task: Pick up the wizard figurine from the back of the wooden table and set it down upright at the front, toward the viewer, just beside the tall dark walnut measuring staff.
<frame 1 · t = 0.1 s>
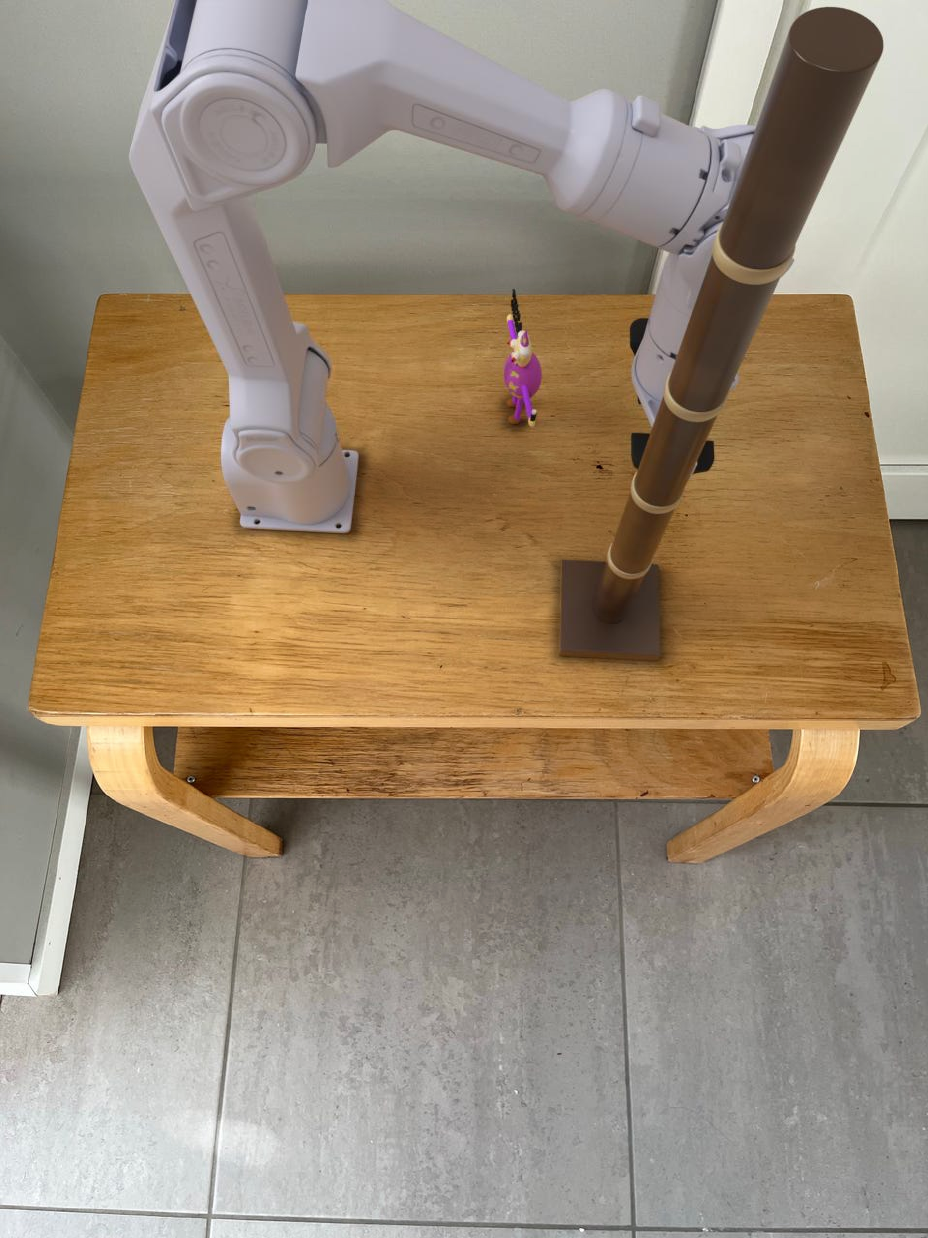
hand: (652, 443, 70), 10 cm above the table, tool pointing down, fingers open, 7 cm apart
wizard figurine: (518, 414, 83), on the table
measuring staff: (671, 453, 52), on the table
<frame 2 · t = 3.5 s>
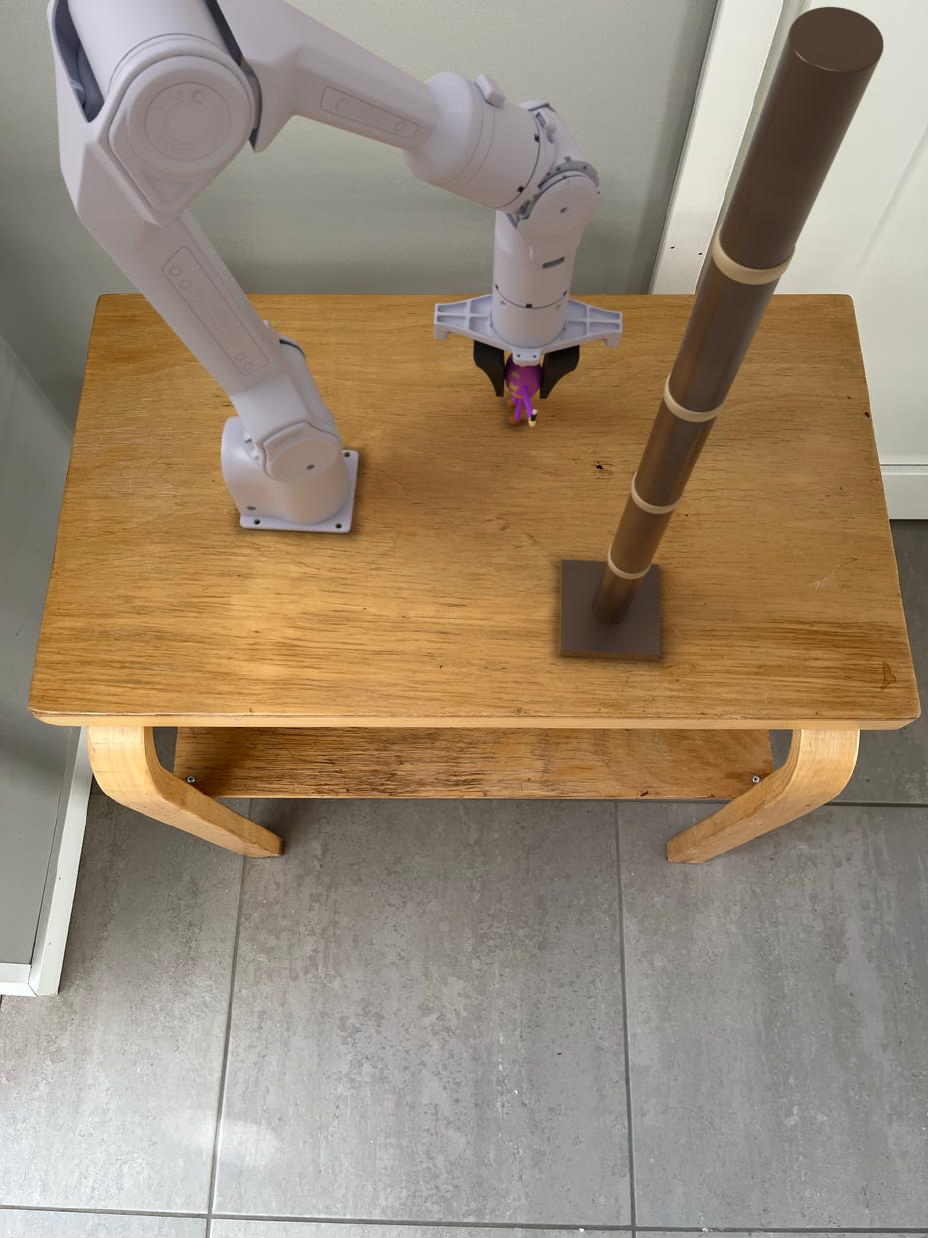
hand: (521, 388, 79), 4 cm above the table, tool pointing down, fingers closed on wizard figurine, 3 cm apart
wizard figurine: (519, 414, 83), on the table, touching gripper
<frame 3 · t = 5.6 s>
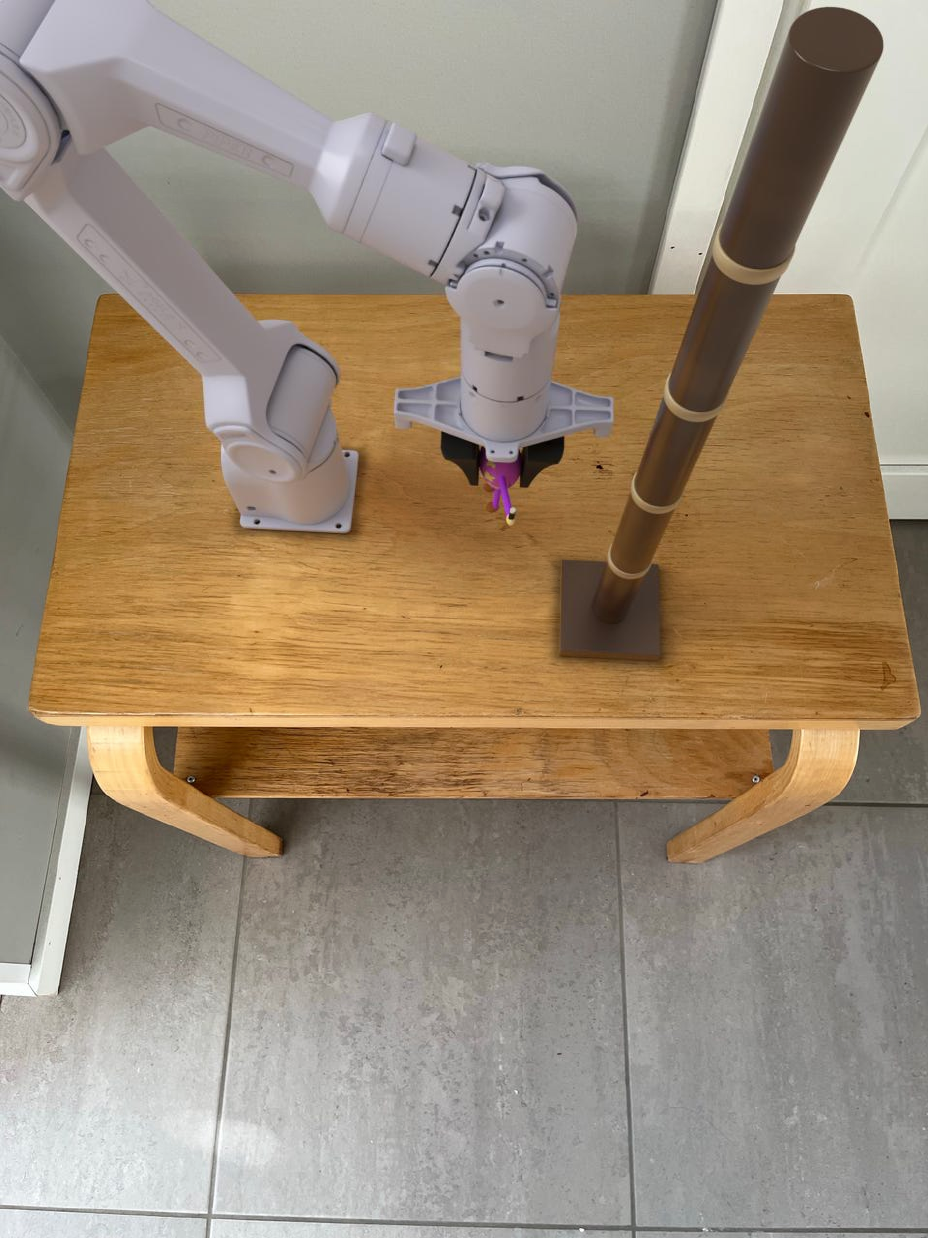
hand: (499, 475, 69), 10 cm above the table, tool pointing down, fingers closed on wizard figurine, 3 cm apart
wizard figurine: (497, 500, 73), point 6 cm above the table, touching gripper
when the fingers open (4 cm above the table, at t = 8.1 s): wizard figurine stays where it is, on the table.
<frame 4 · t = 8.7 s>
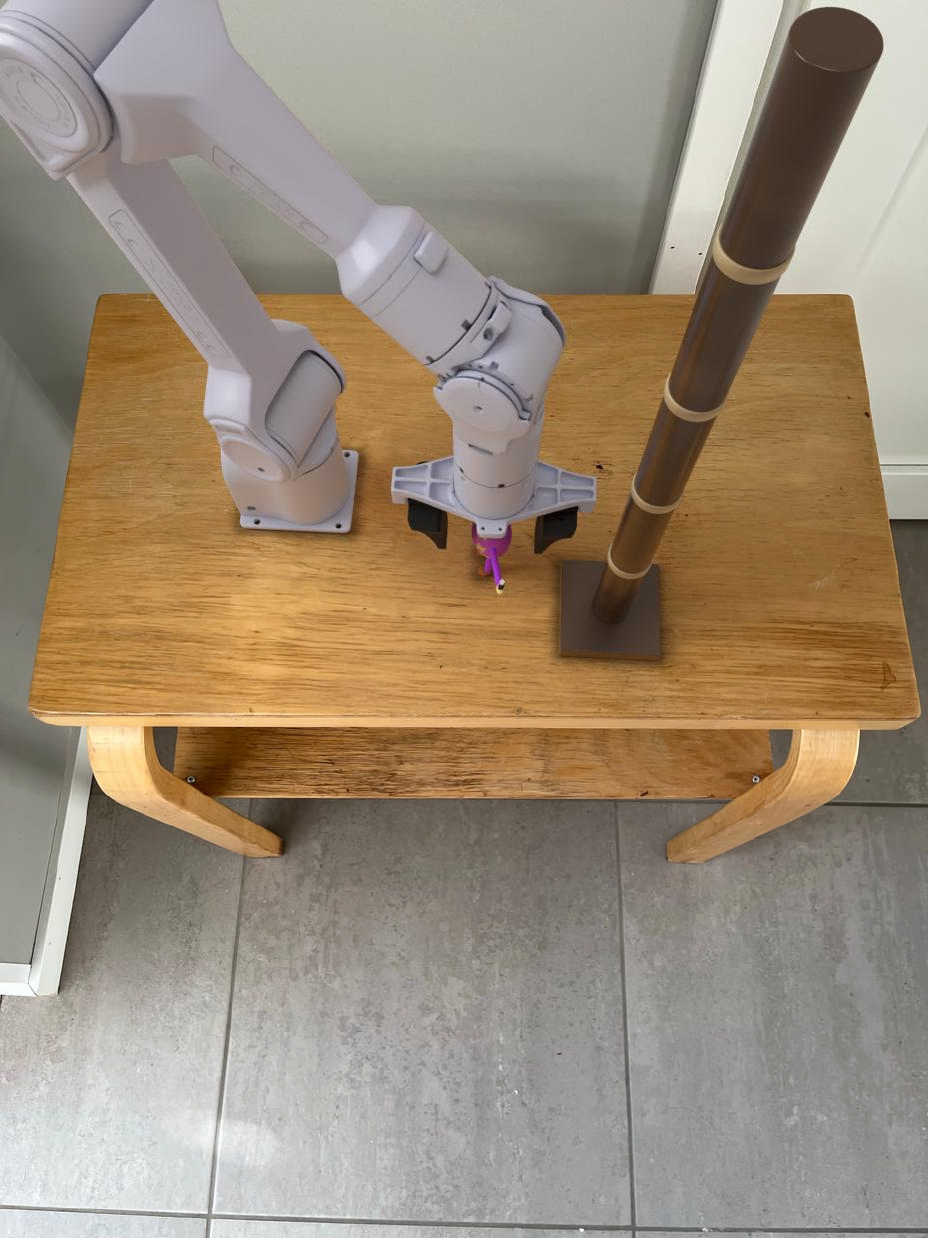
hand: (490, 540, 73), 4 cm above the table, tool pointing down, fingers open, 7 cm apart
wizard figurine: (489, 564, 78), on the table
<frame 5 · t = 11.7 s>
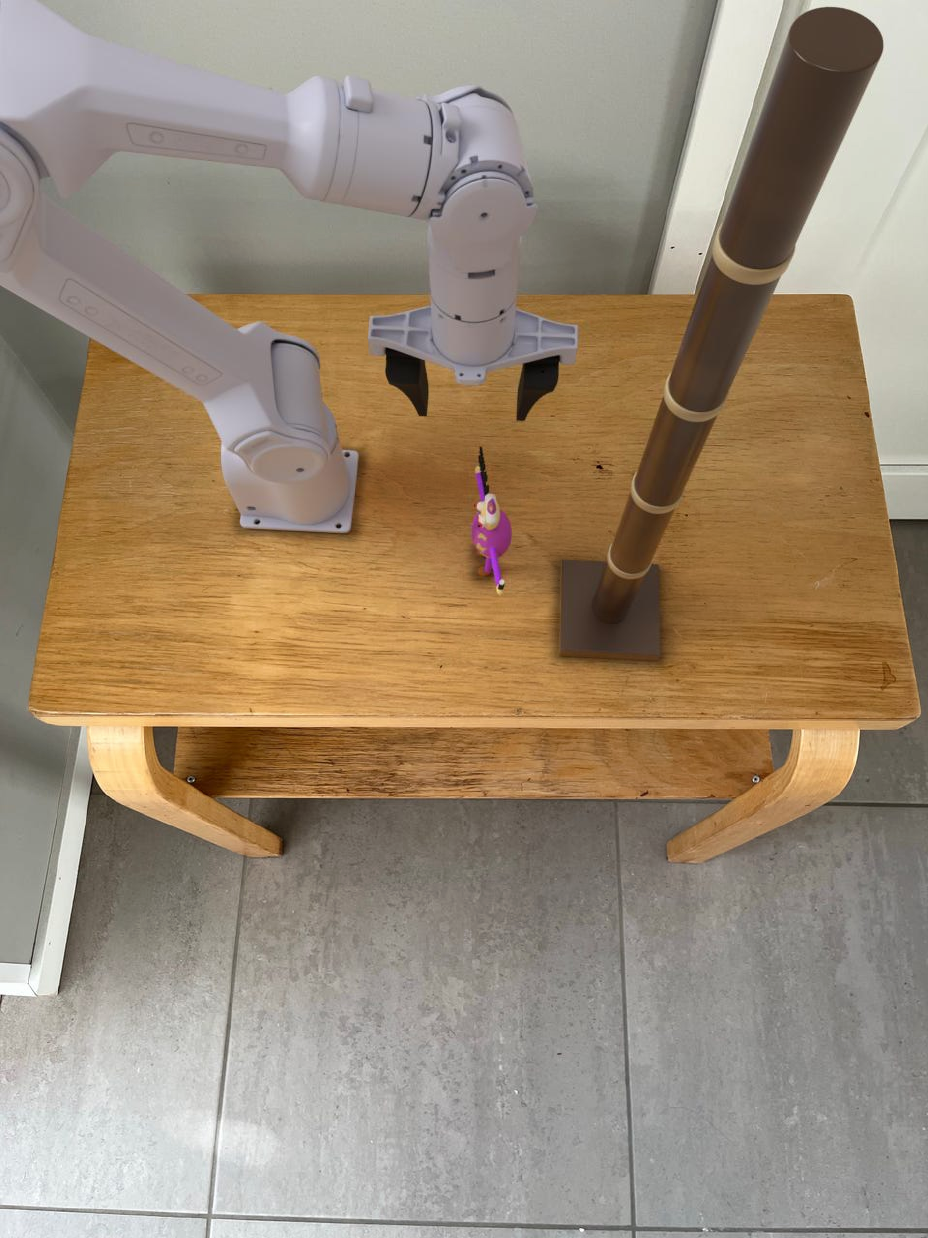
hand: (472, 407, 72), 9 cm above the table, tool pointing down, fingers open, 7 cm apart
nothing on the table moved.
at the end: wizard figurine 0.0 cm from the target spot under the measuring staff, point -25.2 cm above the measuring staff's base; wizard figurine tilted 0°; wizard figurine moved 15.1 cm from its start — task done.
